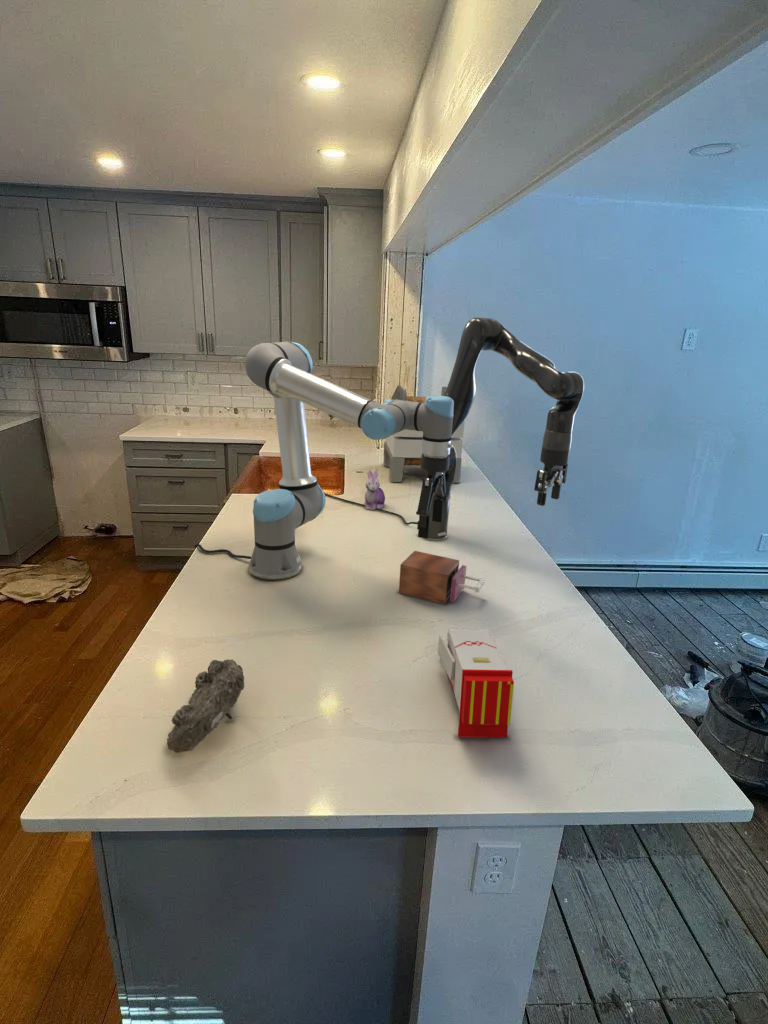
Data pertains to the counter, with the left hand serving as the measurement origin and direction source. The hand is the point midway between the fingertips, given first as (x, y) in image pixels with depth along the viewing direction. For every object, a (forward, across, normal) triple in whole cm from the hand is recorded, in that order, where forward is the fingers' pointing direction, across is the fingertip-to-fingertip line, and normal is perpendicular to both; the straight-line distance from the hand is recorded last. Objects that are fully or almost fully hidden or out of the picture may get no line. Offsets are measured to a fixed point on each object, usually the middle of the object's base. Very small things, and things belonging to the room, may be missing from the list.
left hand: (430, 529), depth 159 cm
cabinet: (+17, -3, -2) cm, 18 cm away
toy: (+17, -44, -23) cm, 52 cm away
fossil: (+17, -71, +21) cm, 76 cm away
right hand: (-8, +17, -29) cm, 35 cm away
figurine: (+17, +56, +39) cm, 70 cm away
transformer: (+17, +112, +37) cm, 119 cm away
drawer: (+16, -4, -8) cm, 18 cm away
